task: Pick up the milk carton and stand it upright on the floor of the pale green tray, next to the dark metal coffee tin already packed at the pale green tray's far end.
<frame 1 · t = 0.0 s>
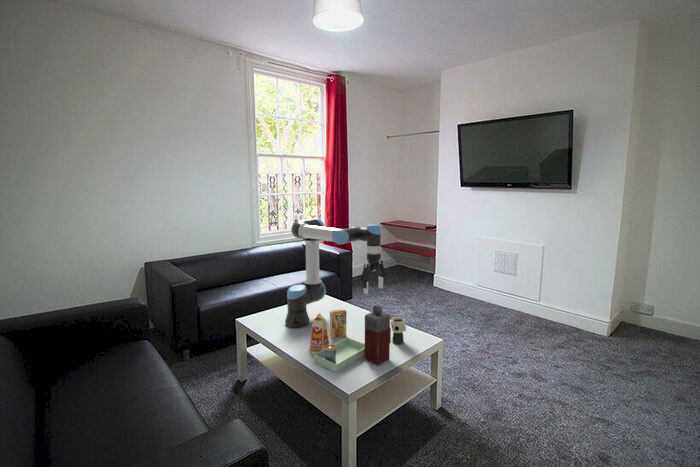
hand: (373, 290, 190), 28 cm above the table, fingers open, 13 cm apart
candy box: (338, 336, 197), on the table
pale green tray: (342, 357, 173), on the table
coffee tin: (330, 363, 167), resting on pale green tray
character mug: (397, 342, 190), on the table
toy vending machine: (378, 358, 172), on the table
milk carton: (319, 349, 182), on the table
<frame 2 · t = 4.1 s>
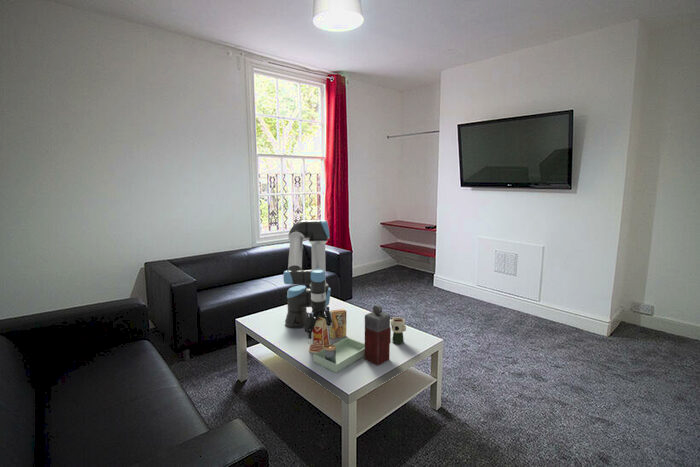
hand: (318, 340, 181), 5 cm above the table, fingers closed on milk carton, 10 cm apart
milk carton: (319, 349, 182), on the table, touching gripper
everything else where it was.
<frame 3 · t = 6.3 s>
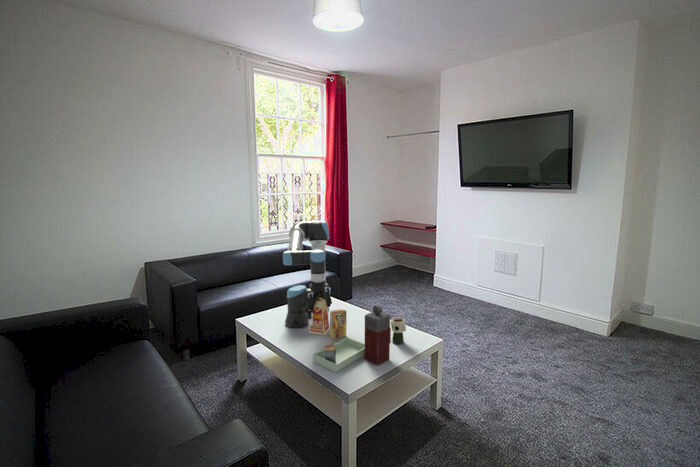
hand: (318, 321, 180), 15 cm above the table, fingers closed on milk carton, 10 cm apart
milk carton: (319, 330, 181), point 10 cm above the table, touching gripper
everything else where it was.
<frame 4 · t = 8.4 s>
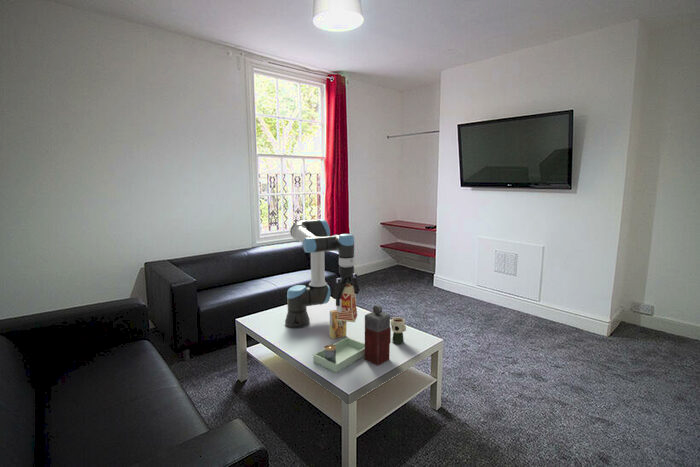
hand: (346, 308, 172), 25 cm above the table, fingers closed on milk carton, 10 cm apart
milk carton: (347, 318, 173), point 19 cm above the table, touching gripper
everything else where it was.
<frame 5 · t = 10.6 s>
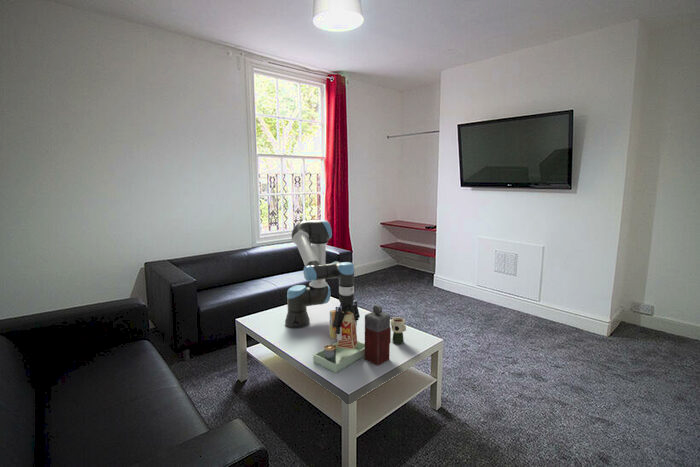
hand: (346, 335, 174), 10 cm above the table, fingers closed on milk carton, 10 cm apart
milk carton: (347, 345, 175), point 5 cm above the table, touching gripper
everything else where it was.
when the fingers open (6 cm above the table, at t = 12.6 s): milk carton stays where it is, resting on pale green tray.
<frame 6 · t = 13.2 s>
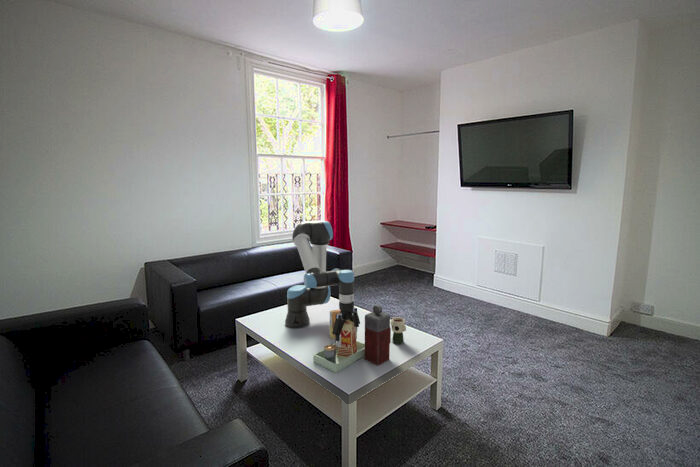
hand: (346, 342, 175), 7 cm above the table, fingers open, 11 cm apart
milk carton: (347, 354, 176), resting on pale green tray
everything else where it was.
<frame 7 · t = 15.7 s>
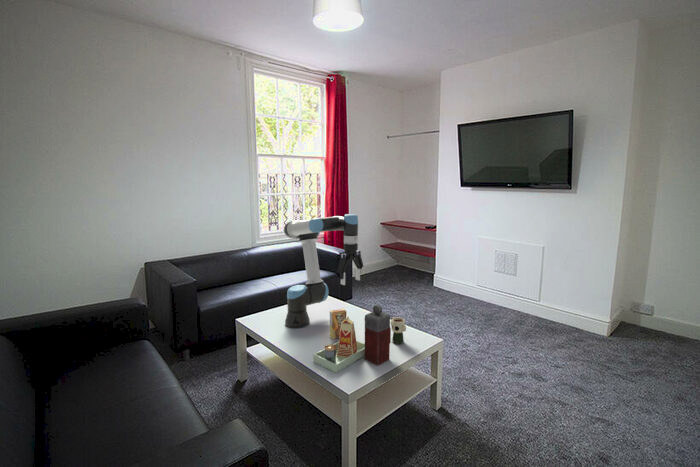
hand: (350, 282, 188), 33 cm above the table, fingers open, 11 cm apart
nothing on the table moved.
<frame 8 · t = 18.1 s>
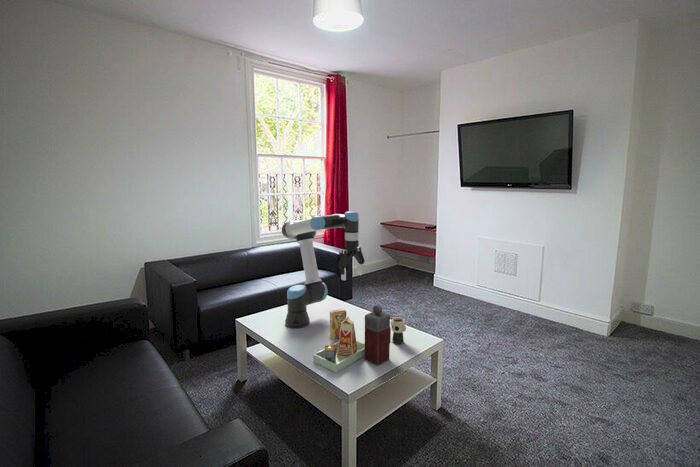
hand: (351, 277, 192), 35 cm above the table, fingers open, 13 cm apart
nothing on the table moved.
at the end: milk carton inside the target area on the pale green tray (3.8 cm from its centre), point 0.3 cm above the pale green tray's base; milk carton tilted 0°; the gripper is holding nothing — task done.
